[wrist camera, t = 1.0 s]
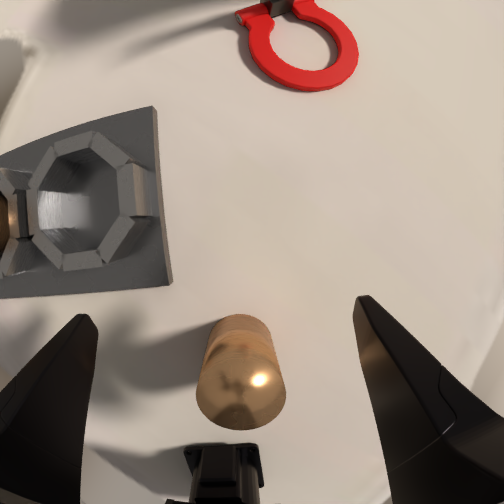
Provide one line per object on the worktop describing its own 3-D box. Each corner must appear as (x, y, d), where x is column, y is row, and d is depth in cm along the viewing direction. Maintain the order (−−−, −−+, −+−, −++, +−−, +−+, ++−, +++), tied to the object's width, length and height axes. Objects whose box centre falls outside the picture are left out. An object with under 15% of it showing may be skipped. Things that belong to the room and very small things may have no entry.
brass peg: (274, 367, 21) (288, 424, 14) (213, 373, 21) (204, 432, 14) (268, 310, 20) (282, 354, 13) (204, 317, 20) (188, 363, 13)
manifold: (157, 111, 18) (114, 57, 10) (173, 281, 20) (133, 320, 12) (-14, 167, 18) (-75, 158, 10) (-2, 296, 19) (-62, 319, 11)
